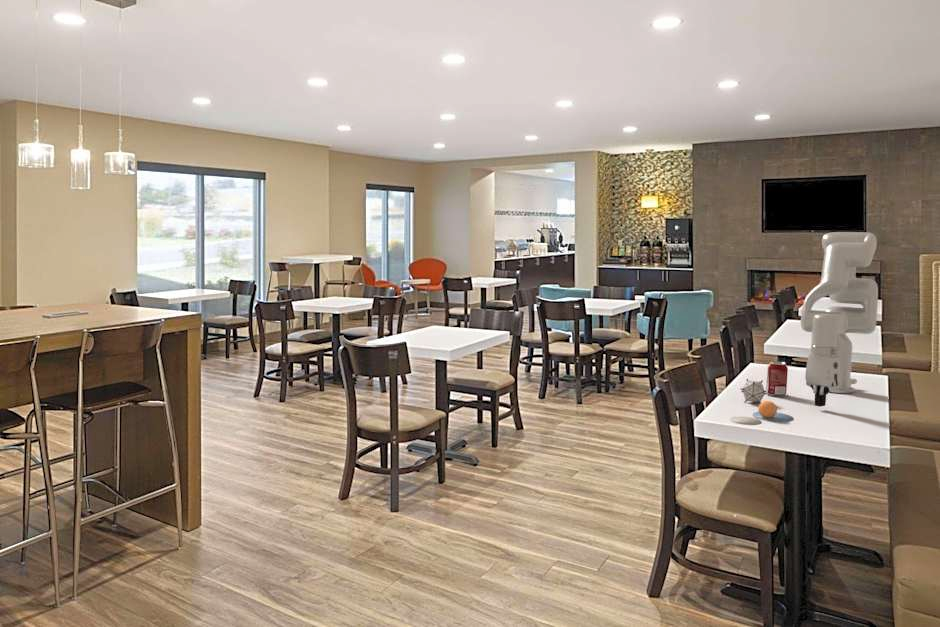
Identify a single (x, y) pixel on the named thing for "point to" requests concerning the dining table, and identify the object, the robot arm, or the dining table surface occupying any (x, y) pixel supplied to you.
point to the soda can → (776, 378)
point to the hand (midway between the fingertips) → (819, 405)
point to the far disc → (746, 420)
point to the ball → (767, 409)
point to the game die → (753, 391)
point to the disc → (775, 417)
